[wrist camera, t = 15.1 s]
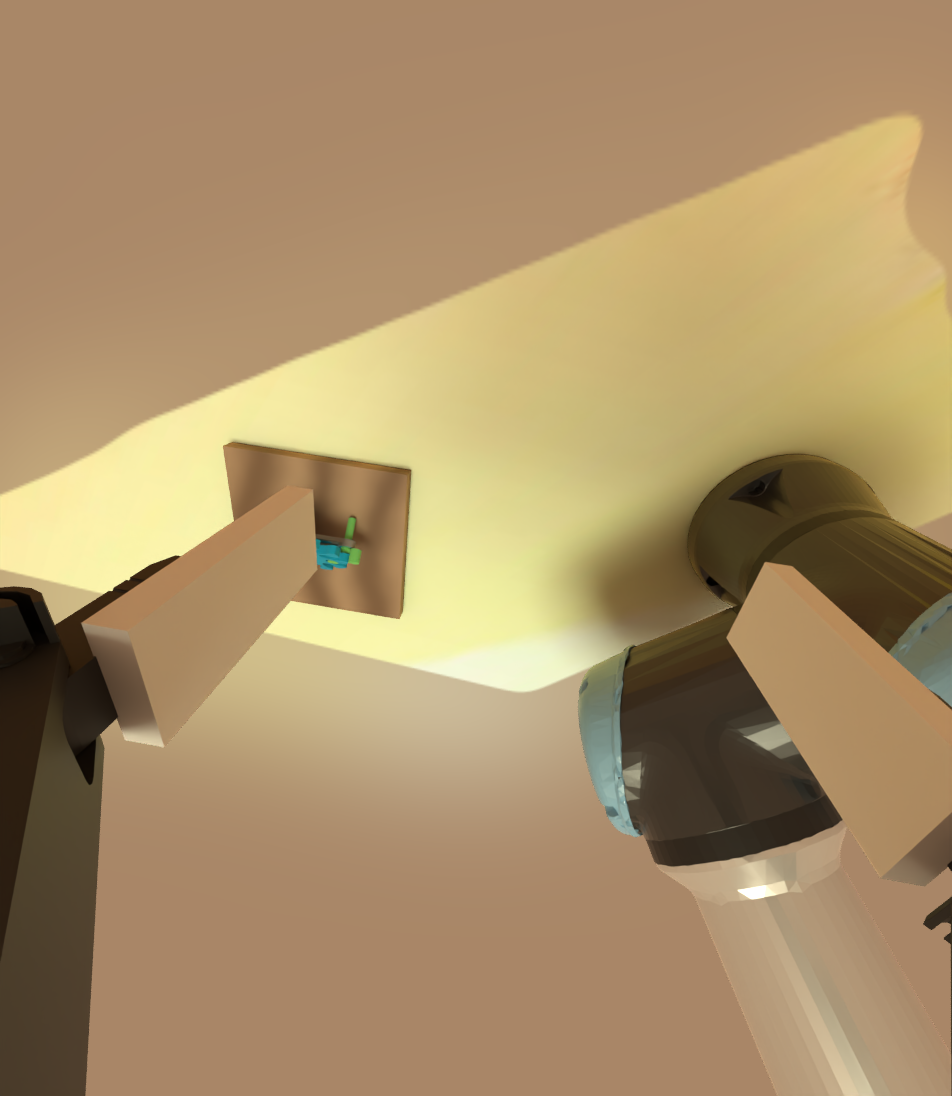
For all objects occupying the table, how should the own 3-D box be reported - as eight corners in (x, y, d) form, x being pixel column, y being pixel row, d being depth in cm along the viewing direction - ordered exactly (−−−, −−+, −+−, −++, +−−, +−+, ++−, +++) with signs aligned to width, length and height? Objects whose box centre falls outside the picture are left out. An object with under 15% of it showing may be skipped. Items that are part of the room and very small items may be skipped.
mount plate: (411, 470, 42) (407, 475, 41) (402, 611, 50) (399, 619, 49) (232, 442, 43) (222, 446, 41) (252, 585, 51) (244, 592, 49)
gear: (256, 566, 45) (217, 538, 36) (270, 514, 47) (236, 474, 37) (363, 581, 47) (352, 558, 37) (373, 530, 48) (365, 495, 39)
